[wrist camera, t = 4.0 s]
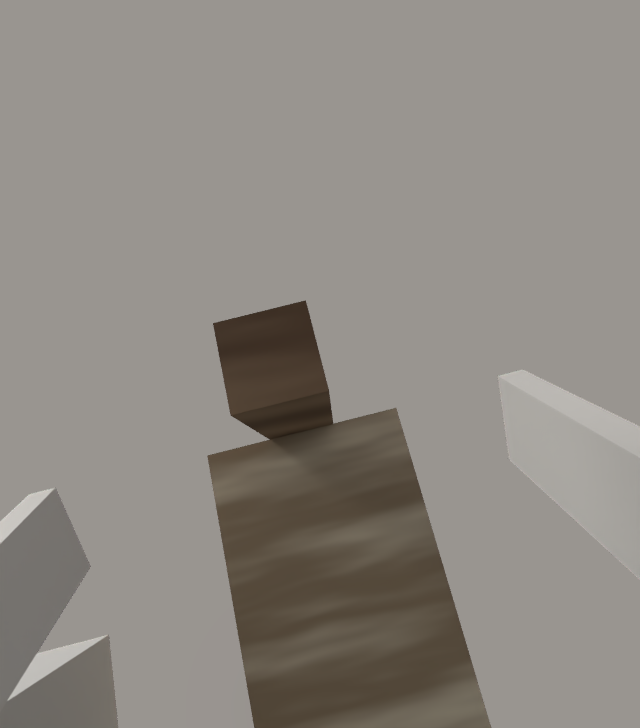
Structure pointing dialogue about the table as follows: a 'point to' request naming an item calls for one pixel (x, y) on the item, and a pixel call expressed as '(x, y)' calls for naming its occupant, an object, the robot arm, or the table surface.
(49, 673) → the grey plinth
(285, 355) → the walnut bar
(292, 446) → the birch pedestal
